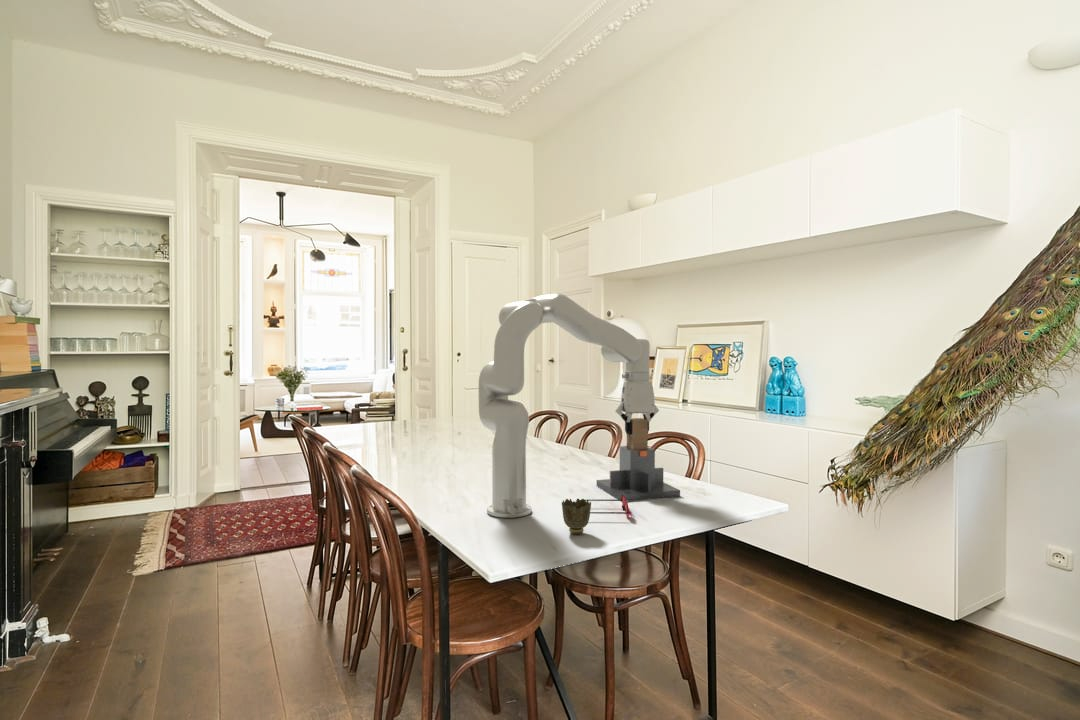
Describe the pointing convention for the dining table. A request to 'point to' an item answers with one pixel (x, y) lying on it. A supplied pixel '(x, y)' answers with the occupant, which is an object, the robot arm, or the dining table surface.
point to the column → (638, 434)
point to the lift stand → (637, 477)
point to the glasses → (616, 512)
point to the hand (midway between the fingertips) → (637, 433)
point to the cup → (576, 515)
